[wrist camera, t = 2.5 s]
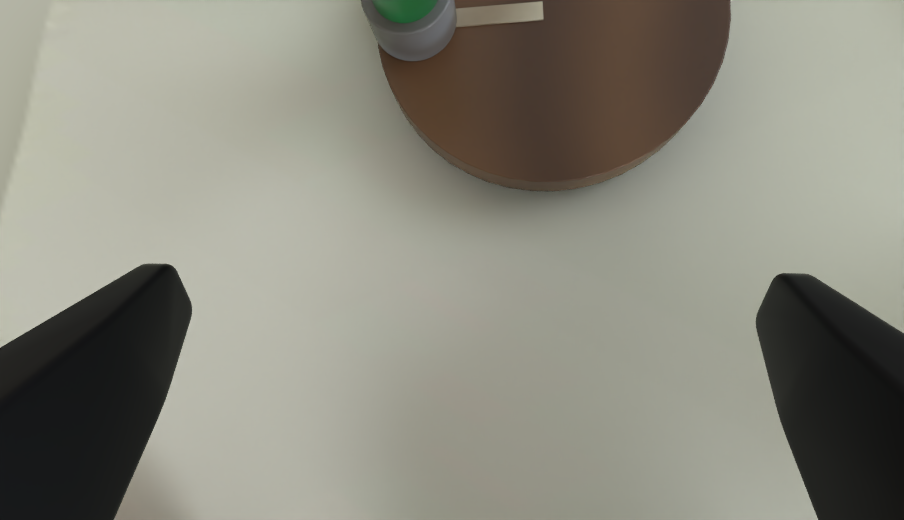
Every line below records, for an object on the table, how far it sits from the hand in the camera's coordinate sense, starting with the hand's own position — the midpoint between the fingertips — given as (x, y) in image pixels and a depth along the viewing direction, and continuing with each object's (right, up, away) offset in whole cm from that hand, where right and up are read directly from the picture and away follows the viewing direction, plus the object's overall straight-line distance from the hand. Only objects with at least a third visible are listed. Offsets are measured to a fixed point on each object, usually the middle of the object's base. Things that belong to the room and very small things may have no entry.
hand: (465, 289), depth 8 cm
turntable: (+3, +10, +13) cm, 17 cm away
